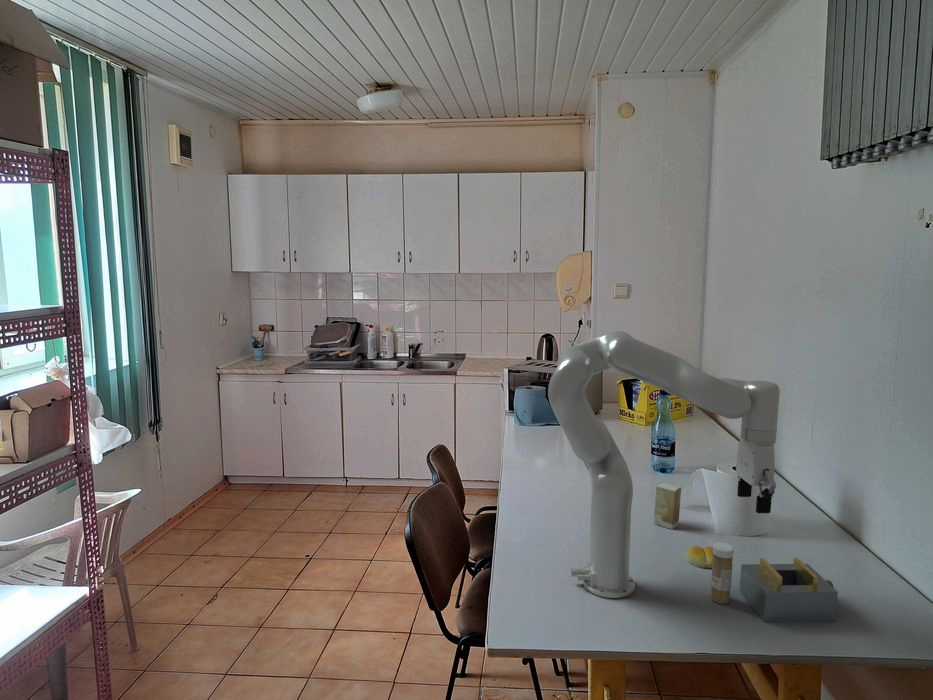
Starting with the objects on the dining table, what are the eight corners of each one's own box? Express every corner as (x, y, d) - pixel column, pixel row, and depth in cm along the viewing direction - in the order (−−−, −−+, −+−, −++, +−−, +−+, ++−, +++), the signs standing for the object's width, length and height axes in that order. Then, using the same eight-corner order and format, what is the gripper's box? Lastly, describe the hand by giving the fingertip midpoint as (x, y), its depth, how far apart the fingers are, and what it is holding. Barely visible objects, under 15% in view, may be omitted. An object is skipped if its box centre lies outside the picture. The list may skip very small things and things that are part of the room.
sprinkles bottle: (706, 595, 158) (709, 542, 156) (725, 593, 158) (727, 541, 156) (715, 605, 153) (718, 551, 151) (734, 604, 154) (737, 550, 152)
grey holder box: (763, 621, 146) (766, 582, 145) (739, 591, 159) (741, 554, 158) (844, 620, 146) (847, 581, 145) (813, 590, 159) (816, 553, 158)
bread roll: (684, 553, 179) (685, 539, 179) (719, 557, 177) (720, 543, 177) (686, 567, 172) (687, 553, 171) (723, 571, 169) (724, 557, 169)
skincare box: (653, 524, 198) (654, 485, 196) (659, 519, 201) (661, 481, 199) (673, 530, 193) (675, 490, 192) (679, 525, 197) (681, 486, 195)
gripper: (726, 424, 160) (722, 490, 163) (759, 445, 143) (754, 519, 146) (757, 424, 161) (752, 490, 163) (793, 445, 144) (787, 519, 146)
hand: (753, 504), depth 155 cm, fingers open, 9 cm apart
